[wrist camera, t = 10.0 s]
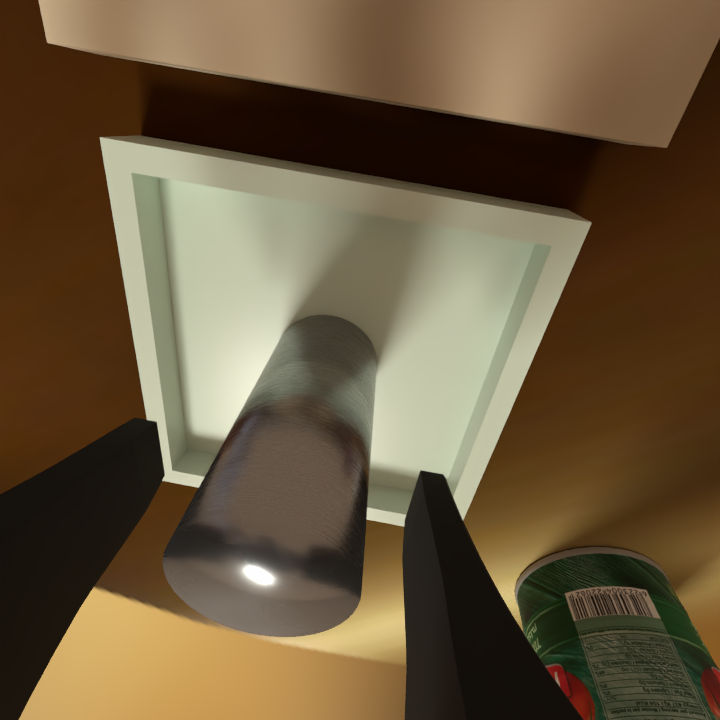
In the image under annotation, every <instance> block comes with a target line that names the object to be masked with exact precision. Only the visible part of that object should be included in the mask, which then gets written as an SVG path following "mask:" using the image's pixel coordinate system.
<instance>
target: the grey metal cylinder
mask: <svg viewBox="0 0 720 720" xmlns="http://www.w3.org/2000/svg"><path fill="white" fill-rule="evenodd" d="M376 373H377V356H376V352H375V349H374V346H373V344H372V342H371V340H370V339H369V337H368V336H367V335H366V334H365V333H364V331H362V330H361V329H360V328H359V327H358V326H356V325H355V324H353V323H352V322H350V321H348V320H346V319H343V318H340V317H336V316H331V315H314V316H309V317H306V318H303V319H301V320H299V321H297V322H295V323H294V324H292V325H291V326H290V327H289V328H288V329H287V330H286V331H285V332H284V334H283V335H282V337H281V338H280V340H279V342H278V344H277V346H276V347H275V349H274V351H273V353H272V355H271V357H270V358H269V360H268V362H267V364H266V366H265V368H264V369H263V371H262V373H261V375H260V377H259V379H258V380H257V382H256V384H255V386H254V388H253V390H252V391H251V393H250V395H249V397H248V399H247V400H246V402H245V404H244V406H243V408H242V410H241V411H240V413H239V415H238V417H237V419H236V421H235V422H234V424H233V426H232V428H231V430H230V432H229V433H228V435H227V437H226V439H225V441H224V443H223V444H222V446H221V448H220V450H219V452H218V454H217V455H216V457H215V459H214V461H213V463H212V464H211V466H210V468H209V470H208V472H207V474H206V475H205V477H204V479H203V481H202V483H201V485H200V486H199V488H198V490H197V492H196V494H195V496H194V497H193V499H192V501H191V503H190V505H189V507H188V508H187V510H186V512H185V514H184V516H183V517H182V519H181V521H180V523H179V525H178V527H177V528H176V530H175V532H174V534H173V536H172V538H171V539H170V541H169V543H168V545H167V547H166V549H165V552H164V556H163V569H164V573H165V576H166V578H167V580H168V583H169V584H170V586H171V587H172V589H173V590H174V591H175V593H176V594H177V595H178V596H179V597H180V598H181V599H182V600H183V601H184V602H185V603H186V604H187V605H189V606H190V607H191V608H193V609H194V610H195V611H197V612H199V613H200V614H202V615H204V616H205V617H207V618H209V619H211V620H213V621H215V622H217V623H220V624H222V625H225V626H227V627H230V628H233V629H236V630H240V631H244V632H247V633H252V634H258V635H265V636H275V637H296V636H305V635H311V634H316V633H320V632H323V631H326V630H329V629H331V628H333V627H335V626H337V625H339V624H341V623H342V622H344V621H345V620H346V619H348V618H349V617H350V616H351V615H352V614H353V612H354V611H355V609H356V608H357V606H358V604H359V601H360V598H361V591H362V576H363V562H364V547H365V532H366V518H367V503H368V489H369V474H370V460H371V445H372V431H373V416H374V402H375V387H376Z"/></svg>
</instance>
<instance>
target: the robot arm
mask: <svg viewBox="0 0 720 720" xmlns="http://www.w3.org/2000/svg"><path fill="white" fill-rule="evenodd" d="M164 476H165V472H164V466H163V459H162V453H161V446H160V440H159V433H158V427H157V422H155V421H150V420H144V419H139V418H133V419H132V420H130V421H128V422H126V423H125V424H123V425H121V426H119V427H118V428H116V429H114V430H113V431H111V432H109V433H108V434H106V435H104V436H103V437H101V438H99V439H98V440H96V441H94V442H93V443H91V444H89V445H88V446H86V447H84V448H83V449H81V450H79V451H78V452H76V453H74V454H72V455H71V456H69V457H67V458H66V459H64V460H62V461H60V462H59V463H57V464H55V465H54V466H52V467H50V468H48V469H47V470H45V471H43V472H41V473H39V474H37V475H36V476H34V477H32V478H30V479H28V480H26V481H24V482H23V483H21V484H19V485H17V486H15V487H13V488H12V489H10V490H8V491H6V492H4V493H2V494H0V720H18V719H19V717H20V716H21V714H22V712H23V710H24V708H25V706H26V704H27V702H28V700H29V698H30V696H31V694H32V692H33V691H34V689H35V687H36V685H37V683H38V681H39V680H40V678H41V676H42V674H43V672H44V670H45V669H46V667H47V665H48V663H49V661H50V659H51V657H52V656H53V654H54V652H55V650H56V649H57V647H58V645H59V643H60V642H61V640H62V638H63V636H64V635H65V633H66V631H67V629H68V628H69V626H70V624H71V622H72V620H73V619H74V617H75V615H76V614H77V612H78V610H79V608H80V607H81V605H82V604H83V602H84V601H85V599H86V598H87V596H88V595H89V593H90V591H91V590H92V588H93V587H94V586H95V584H96V583H97V581H98V580H99V578H100V577H101V575H102V574H103V573H104V571H105V570H106V568H107V567H108V565H109V564H110V563H111V561H112V560H113V558H114V557H115V555H116V554H117V552H118V551H119V550H120V548H121V547H122V545H123V544H124V542H125V541H126V540H127V538H128V537H129V535H130V534H131V532H132V531H133V529H134V528H135V526H136V525H137V523H138V522H139V521H140V519H141V518H142V516H143V515H144V513H145V512H146V510H147V508H148V506H149V505H150V503H151V501H152V499H153V497H154V495H155V494H156V492H157V490H158V488H159V486H160V484H161V482H162V480H163V478H164ZM402 558H403V585H404V608H405V630H406V664H407V674H406V700H405V701H406V703H405V720H584V719H583V718H582V717H581V715H580V714H579V712H578V711H577V710H576V708H575V707H574V706H573V704H572V703H571V701H570V700H569V699H568V697H567V696H566V694H565V693H564V692H563V690H562V689H561V688H560V686H559V685H558V683H557V682H556V681H555V679H554V678H553V677H552V675H551V674H550V672H549V671H548V670H547V668H546V667H545V665H544V664H543V662H542V661H541V659H540V658H539V656H538V655H537V653H536V652H535V650H534V649H533V647H532V646H531V644H530V643H529V641H528V640H527V638H526V636H525V635H524V633H523V632H522V630H521V628H520V627H519V625H518V624H517V622H516V620H515V619H514V617H513V615H512V614H511V612H510V610H509V609H508V607H507V605H506V604H505V602H504V600H503V598H502V597H501V595H500V593H499V591H498V590H497V588H496V586H495V584H494V582H493V580H492V579H491V577H490V575H489V573H488V571H487V569H486V567H485V565H484V563H483V561H482V560H481V558H480V556H479V553H478V551H477V549H476V547H475V545H474V543H473V541H472V539H471V537H470V535H469V533H468V531H467V528H466V526H465V524H464V522H463V520H462V517H461V515H460V513H459V510H458V508H457V506H456V503H455V501H454V498H453V496H452V493H451V491H450V488H449V485H448V483H447V480H446V478H445V476H444V475H443V474H438V473H433V472H427V471H422V470H420V473H419V476H418V479H417V483H416V486H415V489H414V492H413V495H412V498H411V502H410V505H409V508H408V511H407V514H406V517H405V525H404V539H403V557H402Z"/></svg>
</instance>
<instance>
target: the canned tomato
mask: <svg viewBox="0 0 720 720" xmlns="http://www.w3.org/2000/svg"><path fill="white" fill-rule="evenodd" d="M515 597H516V602H517V604H518V606H519V611H520V615H521V620H522V625H523V632H524V635H525V636H526V638H527V640H528V641H529V643H530V644H531V646H532V647H533V649H534V650H535V652H536V653H537V655H538V656H539V658H540V659H541V661H542V662H543V664H544V665H545V667H546V668H547V670H548V671H549V672H550V674H551V675H552V677H553V678H554V679H555V681H556V682H557V683H558V685H559V686H560V688H561V689H562V690H563V692H564V693H565V694H566V696H567V697H568V699H569V700H570V701H571V703H572V704H573V706H574V707H575V708H576V710H577V711H578V712H579V714H580V715H581V717H582V718H583V719H584V720H720V670H719V668H718V667H717V665H716V664H715V663H714V661H713V659H712V657H711V655H710V653H709V651H708V649H707V647H706V646H705V644H704V643H703V641H702V640H701V638H700V636H699V634H698V631H697V629H696V628H695V626H694V625H693V623H692V622H691V620H690V618H689V616H688V614H687V612H686V610H685V609H684V607H683V605H682V604H681V602H680V601H679V599H678V597H677V595H676V594H675V592H674V590H673V588H672V587H671V585H670V582H669V579H668V577H667V575H666V574H665V572H664V571H663V569H662V568H661V567H660V566H659V565H658V564H656V563H655V562H654V561H653V560H651V559H649V558H647V557H645V556H643V555H641V554H638V553H635V552H632V551H629V550H625V549H619V548H613V547H584V548H576V549H570V550H565V551H562V552H558V553H555V554H552V555H549V556H547V557H545V558H543V559H541V560H539V561H537V562H536V563H534V564H533V565H531V566H530V567H528V568H527V569H526V570H525V571H524V572H523V573H522V574H521V576H520V578H519V579H518V581H517V583H516V587H515Z"/></svg>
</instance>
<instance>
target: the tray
mask: <svg viewBox="0 0 720 720" xmlns="http://www.w3.org/2000/svg"><path fill="white" fill-rule="evenodd" d="M100 142H101V148H102V154H103V160H104V166H105V172H106V178H107V184H108V190H109V196H110V202H111V208H112V214H113V220H114V226H115V232H116V238H117V244H118V249H119V255H120V261H121V267H122V273H123V279H124V285H125V291H126V297H127V303H128V309H129V315H130V321H131V327H132V333H133V339H134V345H135V351H136V357H137V363H138V369H139V375H140V381H141V387H142V393H143V399H144V405H145V411H146V417H147V420H150V421H155V422H157V427H158V433H159V440H160V446H161V453H162V459H163V466H164V472H165V476H164V478H163V480H162V481H167V482H172V483H177V484H183V485H188V486H193V487H199V486H200V485H201V483H202V481H203V479H204V477H205V475H206V474H207V472H208V470H209V468H210V466H211V464H212V463H213V461H214V459H215V457H216V455H217V454H218V452H219V450H220V448H221V446H222V444H223V443H224V441H225V439H226V437H227V435H228V433H229V432H230V430H231V428H232V426H233V424H234V422H235V421H236V419H237V417H238V415H239V413H240V411H241V410H242V408H243V406H244V404H245V402H246V400H247V399H248V397H249V395H250V393H251V391H252V390H253V388H254V386H255V384H256V382H257V380H258V379H259V377H260V375H261V373H262V371H263V369H264V368H265V366H266V364H267V362H268V360H269V358H270V357H271V355H272V353H273V351H274V349H275V347H276V346H277V344H278V342H279V340H280V338H281V337H282V335H283V334H284V332H285V331H286V330H287V329H288V328H289V327H290V326H291V325H292V324H294V323H295V322H297V321H299V320H301V319H303V318H306V317H309V316H314V315H331V316H336V317H340V318H343V319H346V320H348V321H350V322H352V323H353V324H355V325H356V326H358V327H359V328H360V329H361V330H362V331H364V333H365V334H366V335H367V336H368V337H369V339H370V340H371V342H372V344H373V346H374V349H375V352H376V356H377V373H376V387H375V402H374V416H373V431H372V445H371V460H370V474H369V489H368V503H367V518H366V519H367V520H373V521H378V522H383V523H388V524H394V525H399V526H404V525H405V517H406V514H407V511H408V508H409V505H410V502H411V498H412V495H413V492H414V489H415V486H416V483H417V479H418V476H419V473H420V470H422V471H427V472H433V473H438V474H443V475H444V476H445V478H446V480H447V483H448V485H449V488H450V491H451V493H452V496H453V498H454V501H455V503H456V506H457V508H458V510H459V513H460V515H461V517H462V520H464V517H465V515H466V513H467V510H468V508H469V506H470V503H471V501H472V499H473V496H474V494H475V492H476V489H477V487H478V485H479V483H480V480H481V478H482V476H483V473H484V471H485V469H486V466H487V464H488V462H489V459H490V457H491V455H492V452H493V450H494V448H495V445H496V443H497V441H498V439H499V436H500V434H501V432H502V429H503V427H504V425H505V422H506V420H507V418H508V415H509V413H510V411H511V408H512V406H513V404H514V402H515V399H516V397H517V395H518V392H519V390H520V388H521V385H522V383H523V381H524V378H525V376H526V374H527V371H528V369H529V367H530V365H531V362H532V360H533V358H534V355H535V353H536V351H537V348H538V346H539V344H540V341H541V339H542V337H543V334H544V332H545V330H546V327H547V325H548V323H549V321H550V318H551V316H552V314H553V311H554V309H555V307H556V304H557V302H558V300H559V297H560V295H561V293H562V290H563V288H564V286H565V284H566V281H567V279H568V277H569V274H570V272H571V270H572V267H573V265H574V263H575V260H576V258H577V256H578V253H579V251H580V249H581V246H582V244H583V242H584V240H585V237H586V235H587V233H588V230H589V228H590V226H591V223H592V222H590V221H588V220H586V219H584V218H582V217H580V216H579V215H577V214H575V213H573V212H571V211H569V210H567V209H562V208H556V207H550V206H544V205H539V204H533V203H527V202H521V201H516V200H510V199H504V198H498V197H492V196H487V195H481V194H475V193H469V192H464V191H458V190H452V189H446V188H441V187H435V186H429V185H423V184H417V183H412V182H406V181H400V180H394V179H389V178H383V177H377V176H371V175H366V174H360V173H354V172H348V171H342V170H337V169H331V168H325V167H319V166H314V165H308V164H302V163H296V162H291V161H285V160H279V159H273V158H267V157H262V156H256V155H250V154H244V153H239V152H233V151H227V150H221V149H216V148H210V147H204V146H198V145H192V144H187V143H181V142H175V141H169V140H164V139H158V138H152V137H146V136H141V135H140V136H115V137H100Z"/></svg>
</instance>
